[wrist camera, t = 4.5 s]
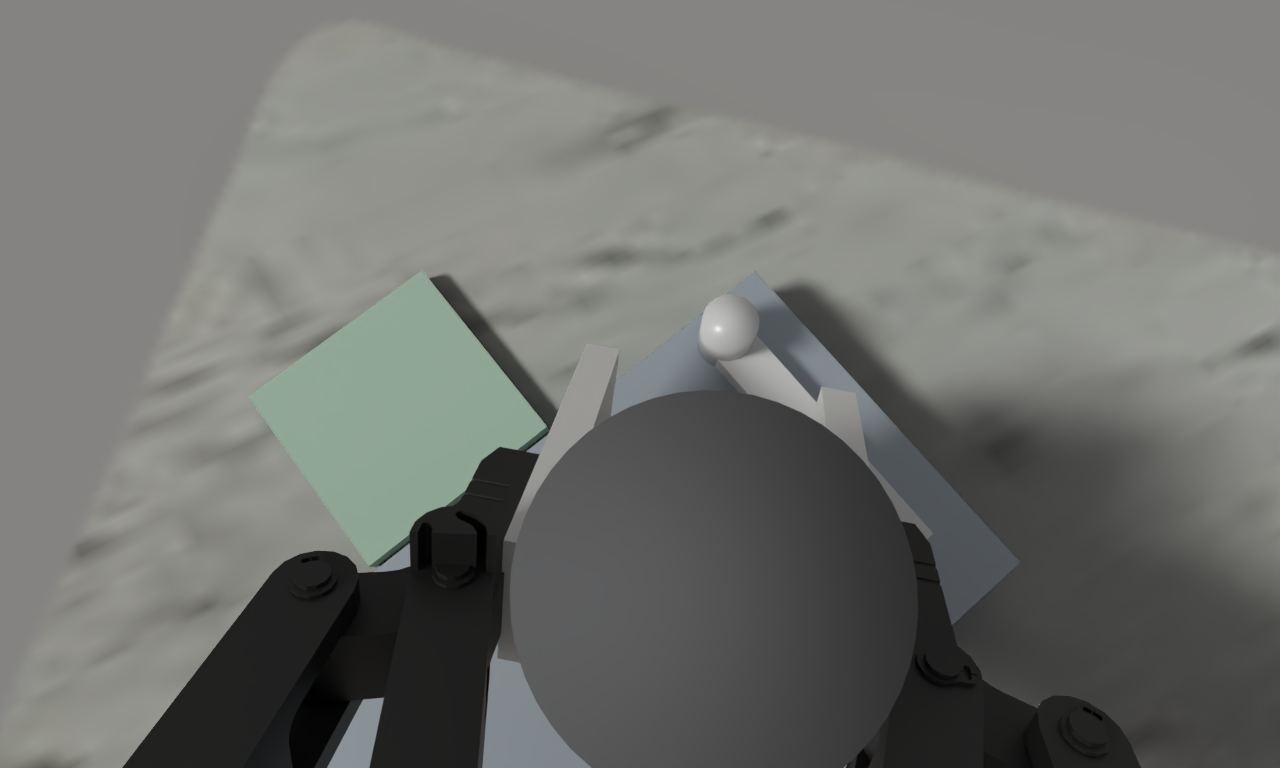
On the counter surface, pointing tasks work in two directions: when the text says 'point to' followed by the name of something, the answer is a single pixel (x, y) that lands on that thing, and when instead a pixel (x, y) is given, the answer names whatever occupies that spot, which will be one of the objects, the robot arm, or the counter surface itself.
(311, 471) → the pad
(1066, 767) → the robot arm
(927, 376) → the counter surface
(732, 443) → the plug
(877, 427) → the square cutout plate
